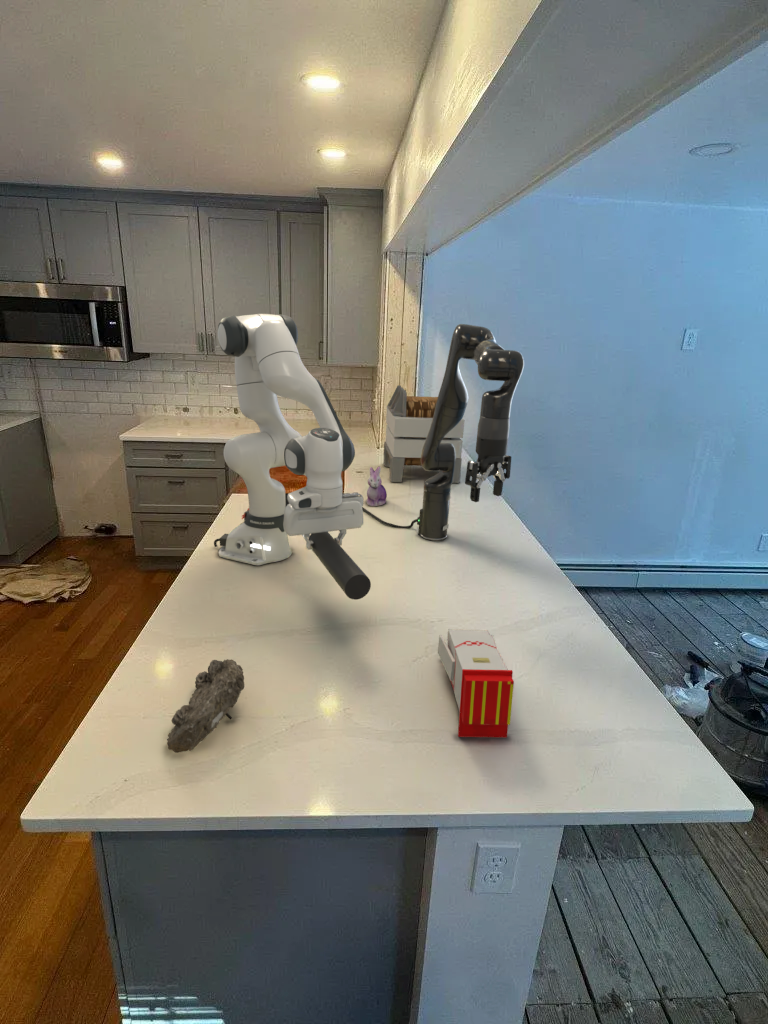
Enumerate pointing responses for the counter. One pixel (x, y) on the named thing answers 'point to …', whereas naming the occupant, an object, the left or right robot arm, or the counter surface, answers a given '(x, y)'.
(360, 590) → the rod
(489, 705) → the toy
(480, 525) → the counter surface
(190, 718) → the fossil
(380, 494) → the figurine
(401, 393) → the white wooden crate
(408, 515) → the counter surface
